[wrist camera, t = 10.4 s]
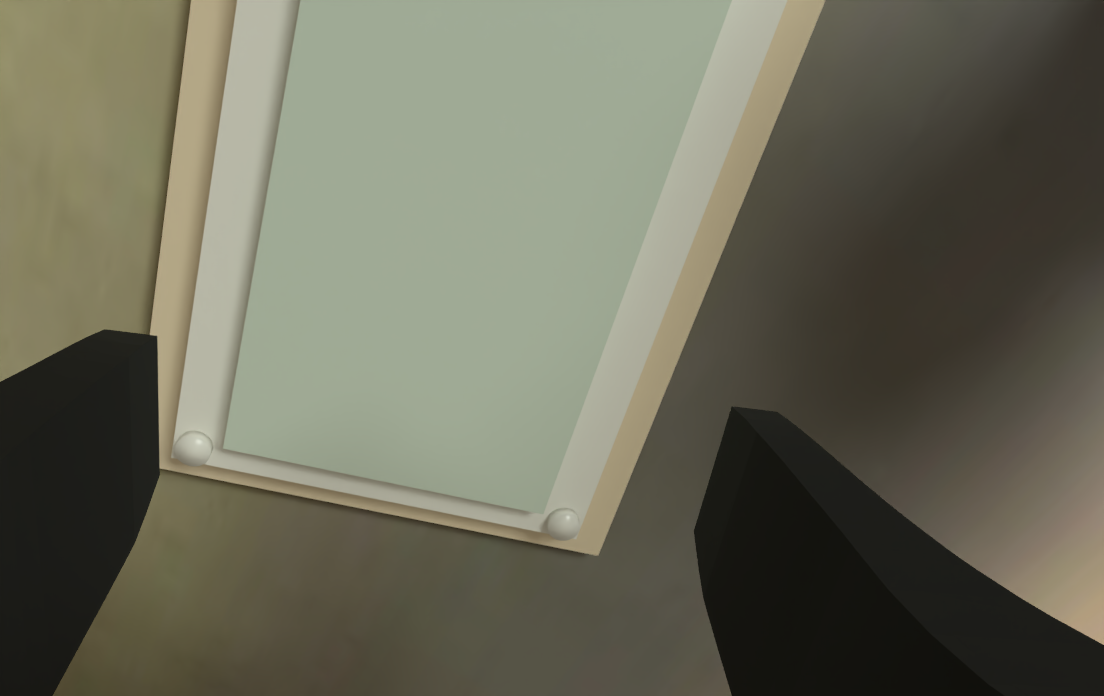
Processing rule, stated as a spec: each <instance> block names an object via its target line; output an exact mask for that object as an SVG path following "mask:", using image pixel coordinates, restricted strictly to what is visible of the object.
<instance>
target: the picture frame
mask: <svg viewBox="0 0 1104 696" xmlns="http://www.w3.org/2000/svg"><path fill="white" fill-rule="evenodd" d="M824 2H825V0H191V6H190V14H189V22H188V30H187V38H186V46H185V54H184V62H183V71H182V79H181V87H180V95H179V103H178V111H177V119H176V127H175V135H174V143H173V151H172V159H171V167H170V175H169V183H168V192H167V200H166V208H165V216H164V224H163V232H162V240H161V248H160V256H159V264H158V272H157V280H156V288H155V296H154V304H153V313H152V321H151V329H150V335H154V336H157V341H158V403H159V465H160V468H161V469H166V470H171V471H176V472H181V473H186V474H191V475H196V476H201V477H206V478H211V479H216V480H221V481H226V482H231V483H236V484H241V485H246V486H251V487H256V488H261V489H266V490H271V491H276V492H281V493H286V494H291V495H296V496H301V497H306V498H311V499H316V500H321V501H326V502H331V503H336V504H341V505H346V506H351V507H356V508H361V509H366V510H371V511H376V512H381V513H386V514H391V515H396V516H401V517H406V518H411V519H416V520H421V521H426V522H431V523H436V524H441V525H446V526H451V527H456V528H461V529H466V530H471V531H476V532H481V533H486V534H491V535H496V536H501V537H506V538H511V539H516V540H521V541H526V542H531V543H536V544H541V545H546V546H551V547H556V548H561V549H566V550H571V551H576V552H581V553H586V554H591V555H596V556H598V555H599V552H600V550H601V548H602V545H603V543H604V540H605V538H606V535H607V533H608V530H609V528H610V526H611V523H612V521H613V518H614V516H615V513H616V511H617V508H618V506H619V504H620V501H621V499H622V496H623V494H624V491H625V489H626V486H627V484H628V482H629V479H630V477H631V474H632V472H633V469H634V467H635V464H636V462H637V460H638V457H639V455H640V452H641V450H642V447H643V445H644V442H645V440H646V438H647V435H648V433H649V430H650V428H651V425H652V423H653V420H654V418H655V416H656V413H657V411H658V408H659V406H660V403H661V401H662V398H663V396H664V394H665V391H666V389H667V386H668V384H669V381H670V379H671V376H672V374H673V372H674V369H675V367H676V364H677V362H678V359H679V357H680V354H681V352H682V350H683V347H684V345H685V342H686V340H687V337H688V335H689V332H690V330H691V328H692V325H693V323H694V320H695V318H696V315H697V313H698V310H699V308H700V306H701V303H702V301H703V298H704V296H705V293H706V291H707V288H708V286H709V284H710V281H711V279H712V276H713V274H714V271H715V269H716V266H717V264H718V262H719V259H720V257H721V254H722V252H723V249H724V247H725V244H726V242H727V240H728V237H729V235H730V232H731V230H732V227H733V225H734V222H735V220H736V218H737V215H738V213H739V210H740V208H741V205H742V203H743V200H744V198H745V196H746V193H747V191H748V188H749V186H750V183H751V181H752V178H753V176H754V174H755V171H756V169H757V166H758V164H759V161H760V159H761V156H762V154H763V152H764V149H765V147H766V144H767V142H768V139H769V137H770V134H771V132H772V130H773V127H774V125H775V122H776V120H777V117H778V115H779V112H780V110H781V108H782V105H783V103H784V100H785V98H786V95H787V93H788V90H789V88H790V86H791V83H792V81H793V78H794V76H795V73H796V71H797V68H798V66H799V64H800V61H801V59H802V56H803V54H804V51H805V49H806V46H807V44H808V42H809V39H810V37H811V34H812V32H813V29H814V27H815V24H816V22H817V20H818V17H819V15H820V12H821V10H822V7H823V5H824Z"/></svg>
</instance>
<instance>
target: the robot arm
mask: <svg viewBox="0 0 1104 696" xmlns="http://www.w3.org/2000/svg"><path fill="white" fill-rule="evenodd" d="M159 475H160V465H159V403H158V341H157V336H154V335H146V334H138V333H130V332H122V331H113V330H102V331H100V332H98V333H95V334H93V335H91V336H88V337H86V338H84V339H82V340H80V341H78V342H76V343H74V344H72V345H70V346H68V347H67V348H65V349H63V350H61V351H59V352H57V353H55V354H53V355H51V356H49V357H47V358H46V359H44V360H42V361H40V362H38V363H36V364H34V365H32V366H30V367H28V368H27V369H25V370H23V371H21V372H19V373H17V374H15V375H13V376H11V377H9V378H7V379H5V380H3V381H1V382H0V696H52V695H53V694H54V692H55V690H56V688H57V686H58V684H59V683H60V681H61V679H62V677H63V675H64V673H65V672H66V670H67V668H68V666H69V664H70V662H71V661H72V659H73V657H74V655H75V653H76V651H77V650H78V648H79V646H80V644H81V642H82V640H83V638H84V637H85V635H86V633H87V631H88V629H89V627H90V626H91V624H92V622H93V620H94V618H95V617H96V615H97V613H98V611H99V609H100V607H101V606H102V604H103V602H104V600H105V598H106V596H107V594H108V593H109V591H110V589H111V587H112V585H113V583H114V581H115V579H116V578H117V576H118V574H119V572H120V570H121V568H122V566H123V565H124V563H125V561H126V559H127V557H128V555H129V553H130V551H131V549H132V547H133V545H134V543H135V541H136V538H137V536H138V533H139V531H140V528H141V525H142V523H143V520H144V517H145V515H146V512H147V509H148V506H149V504H150V501H151V498H152V495H153V492H154V489H155V487H156V484H157V481H158V478H159ZM694 535H695V543H696V551H697V559H698V567H699V573H700V579H701V586H702V592H703V598H704V602H705V605H706V609H707V612H708V616H709V620H710V623H711V626H712V630H713V633H714V637H715V640H716V644H717V647H718V651H719V654H720V657H721V661H722V664H723V667H724V671H725V674H726V677H727V681H728V684H729V687H730V691H731V694H732V696H1104V645H1102V644H1101V643H1099V642H1097V641H1095V640H1093V639H1091V638H1090V637H1088V636H1086V635H1084V634H1082V633H1081V632H1079V631H1077V630H1075V629H1073V628H1071V627H1070V626H1068V625H1066V624H1064V623H1062V622H1061V621H1059V620H1057V619H1055V618H1053V617H1051V616H1050V615H1048V614H1046V613H1045V612H1043V611H1041V610H1040V609H1038V608H1036V607H1035V606H1033V605H1031V604H1029V603H1028V602H1026V601H1024V600H1023V599H1021V598H1020V597H1018V596H1016V595H1015V594H1013V593H1012V592H1010V591H1009V590H1007V589H1006V588H1004V587H1003V586H1001V585H1000V584H998V583H996V582H995V581H993V580H992V579H990V578H989V577H987V576H986V575H984V574H983V573H981V572H979V571H978V570H976V569H975V568H973V567H972V566H970V565H969V564H968V563H966V562H965V561H963V560H962V559H960V558H959V557H958V556H956V555H955V554H953V553H952V552H950V551H949V550H948V549H946V548H945V547H944V546H942V545H941V544H940V543H938V542H937V541H936V540H934V539H933V538H932V537H930V536H929V535H928V534H926V533H925V532H924V531H923V530H921V529H920V528H919V527H917V526H916V525H915V524H913V523H912V522H911V521H909V520H908V519H907V518H906V517H904V516H903V515H902V514H901V513H899V512H898V511H897V510H896V509H894V508H893V507H892V506H891V505H889V504H888V503H887V502H886V501H884V500H883V499H882V498H881V497H880V496H878V495H877V494H876V493H875V492H874V491H872V490H871V489H870V488H869V487H868V486H866V485H865V484H864V483H863V482H862V481H860V480H859V479H858V478H857V477H856V476H855V475H853V474H852V473H851V472H850V471H849V470H848V469H846V468H845V467H844V466H843V465H842V464H841V463H839V462H838V461H837V460H836V459H835V458H834V457H832V456H831V455H830V454H829V453H828V452H827V451H825V450H824V449H823V448H822V447H821V446H820V445H818V444H817V443H816V442H815V441H814V440H813V439H811V438H810V437H809V436H808V435H807V434H805V433H804V432H803V431H802V430H801V429H799V428H798V427H797V426H796V425H794V424H793V423H792V422H790V421H789V420H788V419H786V418H785V417H783V416H782V415H781V414H779V413H778V412H773V411H765V410H757V409H748V408H740V407H732V408H731V411H730V414H729V418H728V421H727V424H726V427H725V431H724V434H723V437H722V441H721V444H720V447H719V450H718V454H717V457H716V460H715V464H714V467H713V470H712V473H711V477H710V480H709V483H708V486H707V490H706V493H705V496H704V500H703V503H702V506H701V509H700V513H699V516H698V519H697V523H696V526H695V529H694Z"/></svg>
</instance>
